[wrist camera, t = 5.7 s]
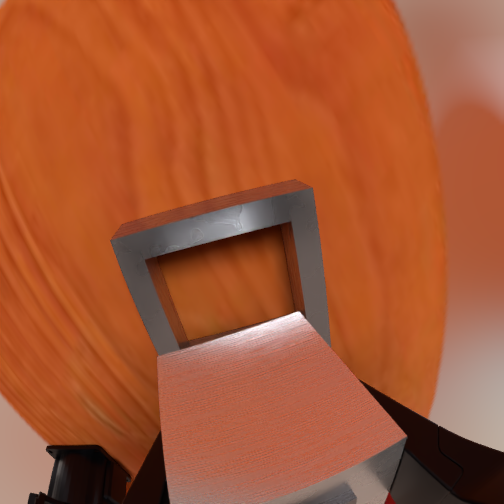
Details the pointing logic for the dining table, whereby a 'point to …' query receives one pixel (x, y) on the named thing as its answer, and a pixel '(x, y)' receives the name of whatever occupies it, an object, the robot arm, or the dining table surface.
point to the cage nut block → (272, 422)
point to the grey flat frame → (214, 228)
